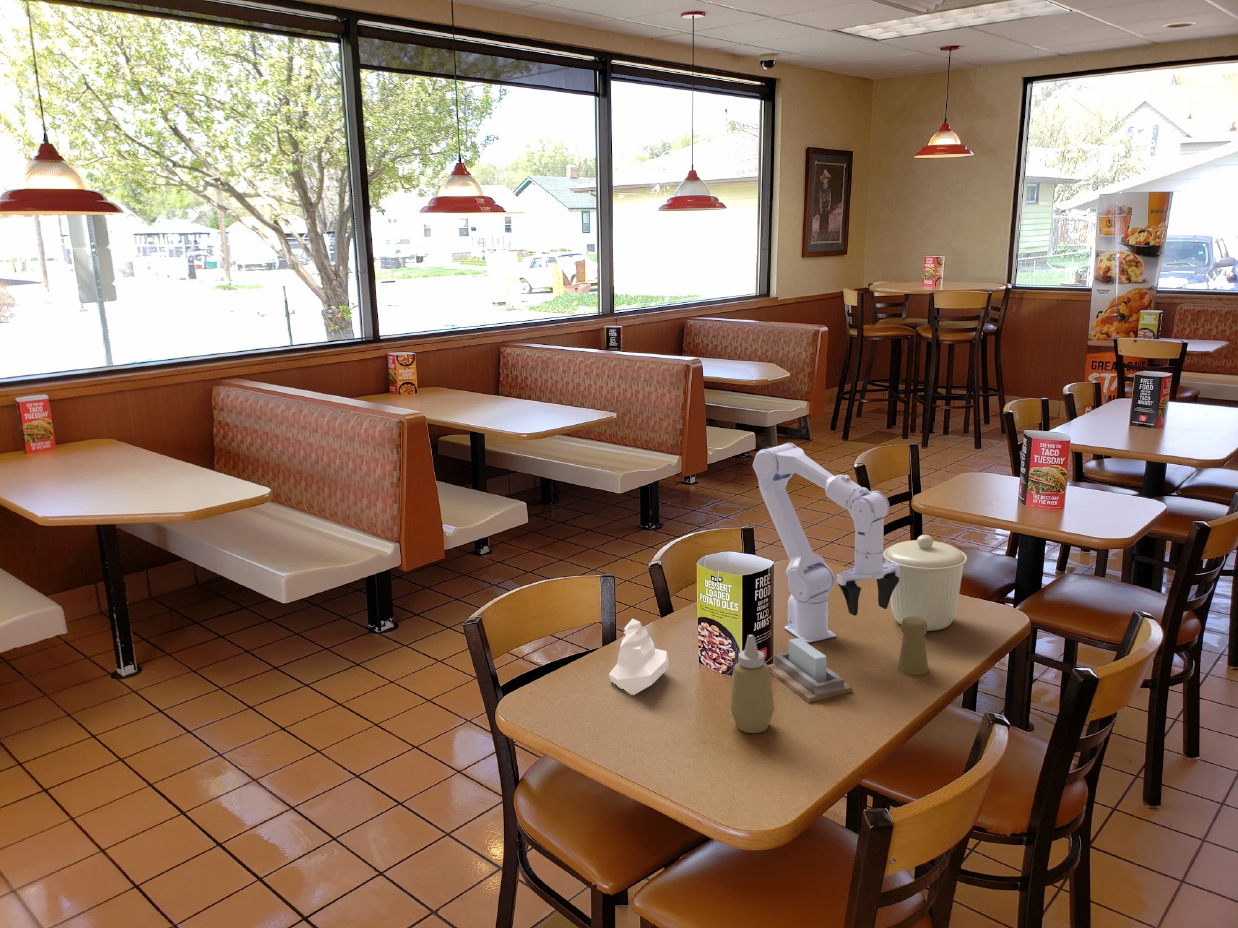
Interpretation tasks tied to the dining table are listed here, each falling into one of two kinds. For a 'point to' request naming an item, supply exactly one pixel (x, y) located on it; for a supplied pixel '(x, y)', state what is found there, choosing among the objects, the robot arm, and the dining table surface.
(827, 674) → the track
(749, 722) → the squeeze bottle
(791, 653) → the pale blue rectangular brick
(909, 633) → the cork
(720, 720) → the dining table surface
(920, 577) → the canister
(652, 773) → the dining table surface
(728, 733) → the dining table surface
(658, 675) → the soft serve ice cream
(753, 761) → the dining table surface
